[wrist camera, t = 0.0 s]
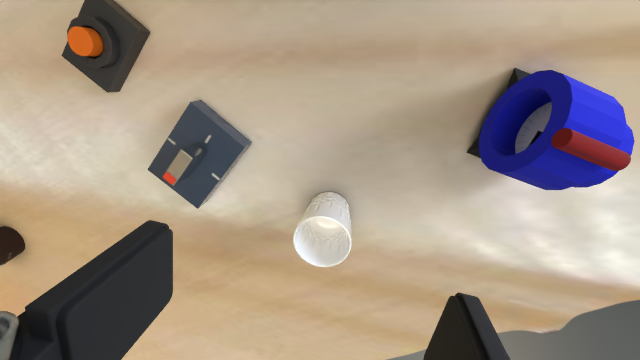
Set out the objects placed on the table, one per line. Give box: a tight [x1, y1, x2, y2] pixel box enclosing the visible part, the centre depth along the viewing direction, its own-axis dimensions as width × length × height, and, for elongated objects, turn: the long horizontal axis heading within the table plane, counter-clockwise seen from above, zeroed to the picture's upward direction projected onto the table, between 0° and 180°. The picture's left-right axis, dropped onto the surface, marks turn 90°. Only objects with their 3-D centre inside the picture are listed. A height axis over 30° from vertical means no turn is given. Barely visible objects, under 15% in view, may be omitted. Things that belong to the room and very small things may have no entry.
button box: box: [62, 0, 150, 92], centre depth 43 cm, size 11×8×4 cm
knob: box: [163, 142, 208, 186], centre depth 44 cm, size 6×2×5 cm, turn 140°
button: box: [68, 26, 104, 57], centre depth 41 cm, size 4×4×2 cm
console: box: [148, 100, 251, 208], centre depth 48 cm, size 14×10×3 cm
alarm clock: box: [467, 68, 634, 190], centre depth 34 cm, size 12×12×15 cm
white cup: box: [293, 192, 351, 267], centre depth 45 cm, size 8×8×10 cm
